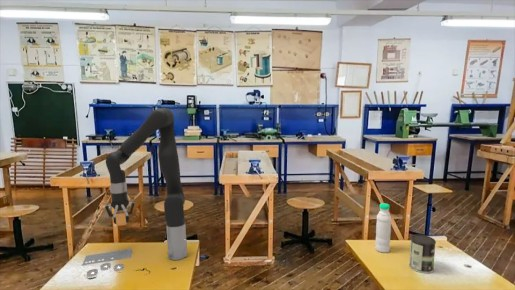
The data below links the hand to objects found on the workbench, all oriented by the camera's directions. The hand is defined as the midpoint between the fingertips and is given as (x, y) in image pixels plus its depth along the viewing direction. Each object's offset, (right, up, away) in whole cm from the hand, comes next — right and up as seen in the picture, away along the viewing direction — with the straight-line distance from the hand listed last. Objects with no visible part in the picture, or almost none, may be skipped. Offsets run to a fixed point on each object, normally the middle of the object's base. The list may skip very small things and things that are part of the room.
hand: (121, 222), depth 158 cm
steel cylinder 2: (-2, -19, -12) cm, 23 cm away
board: (-6, -18, -2) cm, 19 cm away
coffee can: (+146, -18, -13) cm, 148 cm away
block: (0, 0, 0) cm, 0 cm away
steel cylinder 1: (-6, -20, -17) cm, 27 cm away
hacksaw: (+15, -19, -4) cm, 24 cm away
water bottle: (+135, -16, +5) cm, 136 cm away
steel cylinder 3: (+5, -19, -13) cm, 24 cm away
